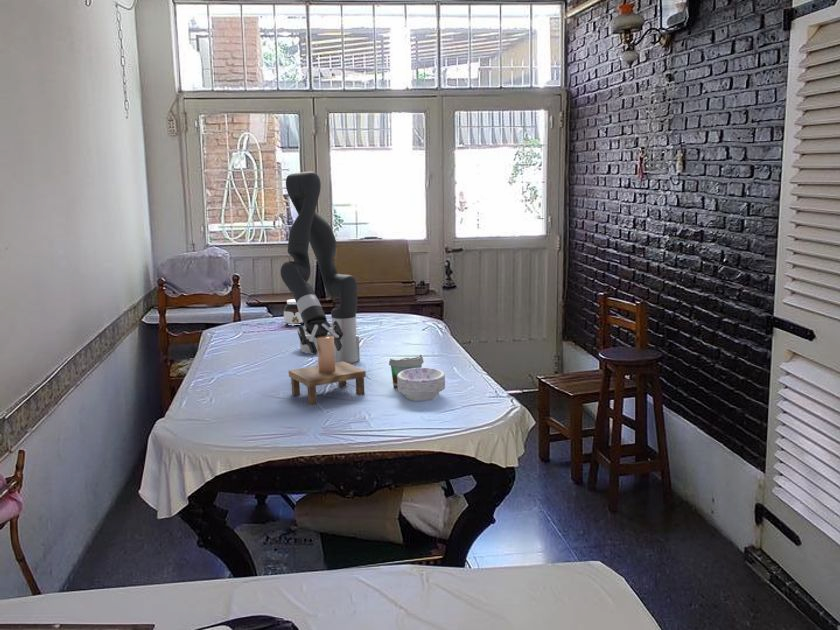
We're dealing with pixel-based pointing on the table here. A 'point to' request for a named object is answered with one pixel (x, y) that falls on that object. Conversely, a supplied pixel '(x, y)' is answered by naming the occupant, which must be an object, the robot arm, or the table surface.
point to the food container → (404, 366)
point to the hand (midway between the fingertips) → (327, 351)
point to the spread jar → (292, 313)
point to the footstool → (326, 378)
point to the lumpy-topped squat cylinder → (305, 347)
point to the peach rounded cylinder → (326, 354)
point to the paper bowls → (421, 383)
